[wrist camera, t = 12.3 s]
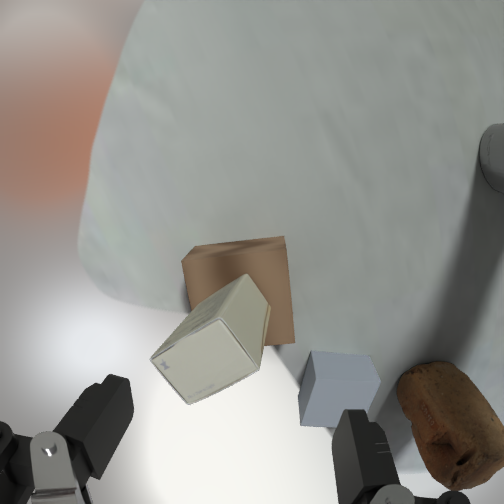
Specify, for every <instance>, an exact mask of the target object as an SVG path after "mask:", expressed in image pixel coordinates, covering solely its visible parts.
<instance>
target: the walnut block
mask: <svg viewBox="0 0 504 504" xmlns="http://www.w3.org/2000/svg"><path fill="white" fill-rule="evenodd" d="M181 262H182V267H183V272H184V277H185V282H186V287H187V292H188V297H189V301H190V306H191V311H193V309H194V308H195V307H196V306H197V305H198V304H199V303H201V302H202V301H203V300H205V299H206V298H208V297H209V296H211V295H212V294H214V293H215V292H217V291H218V290H220V289H221V288H223V287H225V286H226V285H228V284H229V283H231V282H233V281H234V280H236V279H237V278H239V277H241V276H242V275H244V274H248V275H249V276H250V278H251V279H252V280H253V282H254V283H255V285H256V286H257V288H258V289H259V290H260V292H261V293H262V295H263V296H264V298H265V299H266V301H267V302H268V304H269V305H270V307H271V311H270V317H269V322H268V327H267V333H266V338H265V343H264V346H269V345H280V344H290V343H295V336H294V324H293V312H292V301H291V290H290V280H289V270H288V260H287V250H286V244H285V239H284V236H279V237H270V238H261V239H253V240H244V241H235V242H226V243H218V244H209V245H201V246H195V247H194V248H193V249H192V250H191V251H190V252H189V253H188V254H187V255H186V256H185V257H184V258H183V260H182V261H181Z"/></svg>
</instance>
